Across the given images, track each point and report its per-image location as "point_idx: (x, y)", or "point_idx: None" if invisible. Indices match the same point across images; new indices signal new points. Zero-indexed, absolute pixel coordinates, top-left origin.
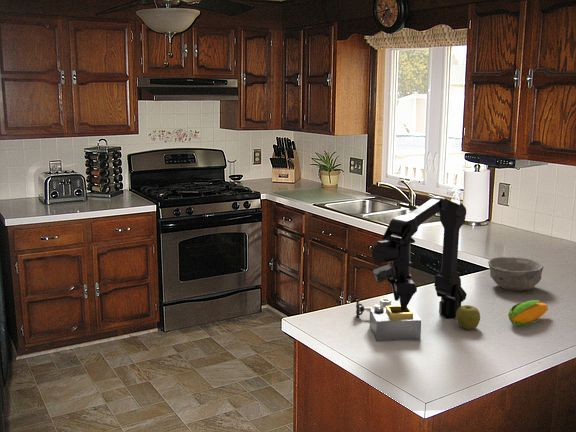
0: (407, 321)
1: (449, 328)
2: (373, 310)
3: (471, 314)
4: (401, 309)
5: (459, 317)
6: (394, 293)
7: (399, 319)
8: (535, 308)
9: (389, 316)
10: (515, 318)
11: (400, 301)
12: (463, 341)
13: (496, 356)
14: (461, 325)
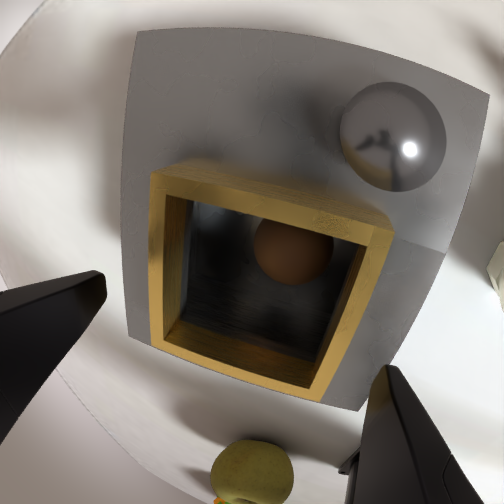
0: (125, 261)
1: (275, 417)
2: (426, 92)
3: (211, 481)
4: (89, 272)
5: (240, 462)
6: (398, 428)
7: (140, 221)
8: None
9: (215, 170)
10: (217, 501)
11: (4, 291)
12: (163, 383)
13: (84, 372)
14: (248, 442)
